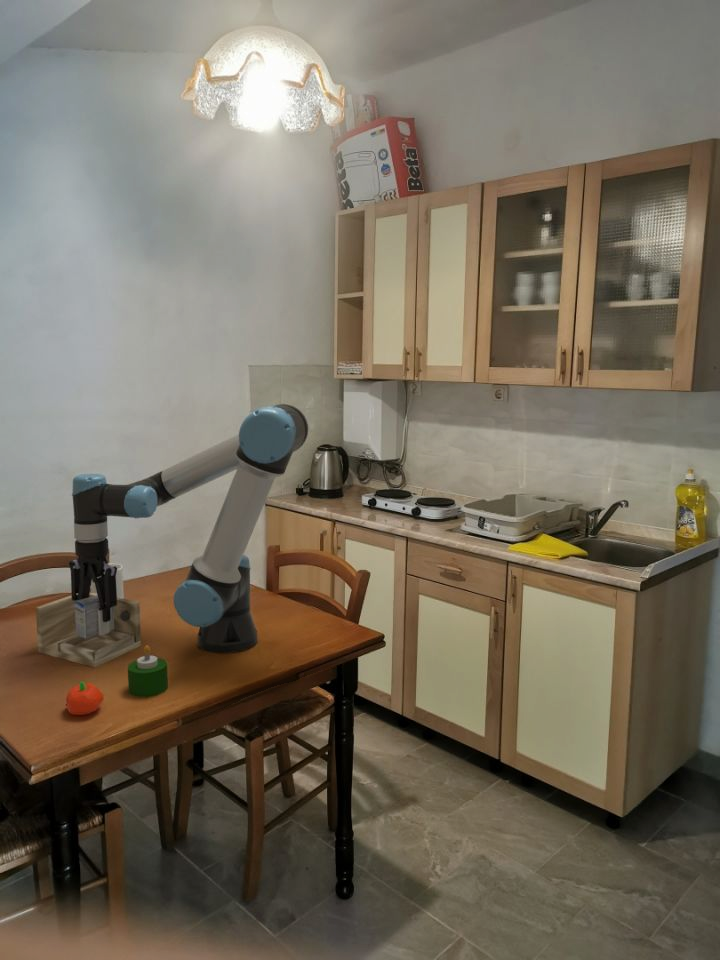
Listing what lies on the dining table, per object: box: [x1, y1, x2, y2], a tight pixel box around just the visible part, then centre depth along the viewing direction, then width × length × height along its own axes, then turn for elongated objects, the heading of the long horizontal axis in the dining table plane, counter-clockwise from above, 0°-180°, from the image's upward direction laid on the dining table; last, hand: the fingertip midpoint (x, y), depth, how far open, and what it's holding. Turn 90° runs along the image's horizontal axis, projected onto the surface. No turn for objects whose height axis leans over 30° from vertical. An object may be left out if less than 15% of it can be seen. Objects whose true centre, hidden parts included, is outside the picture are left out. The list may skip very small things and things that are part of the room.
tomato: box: [65, 680, 104, 716], centre depth 151 cm, size 7×8×6 cm
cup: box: [90, 562, 125, 599], centre depth 200 cm, size 8×8×16 cm
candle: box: [127, 645, 169, 698], centre depth 162 cm, size 8×8×10 cm
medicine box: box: [75, 595, 114, 639], centre depth 180 cm, size 8×4×9 cm, turn 141°
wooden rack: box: [35, 591, 142, 668], centre depth 183 cm, size 19×15×12 cm
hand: (95, 631), depth 181 cm, fingers closed on medicine box, 5 cm apart
